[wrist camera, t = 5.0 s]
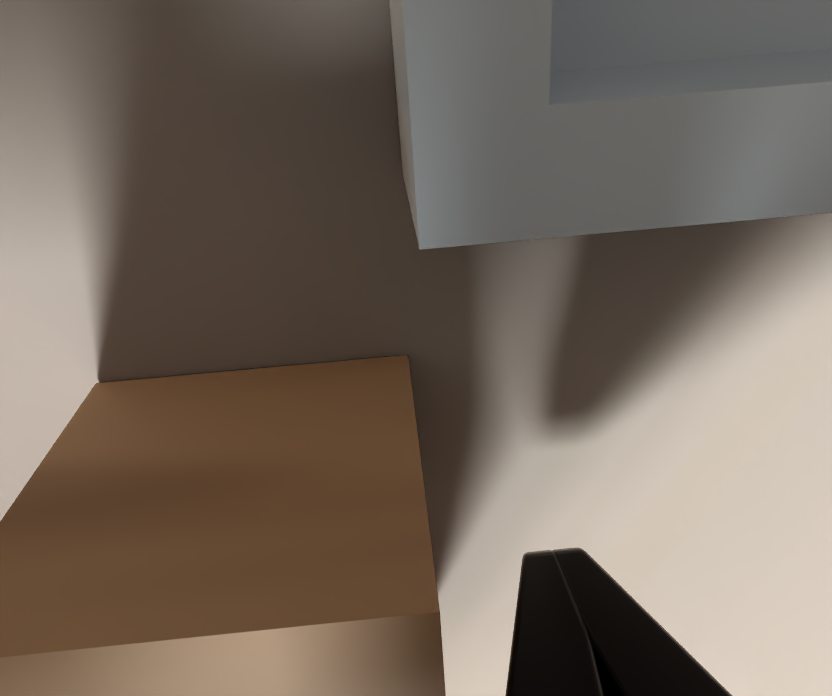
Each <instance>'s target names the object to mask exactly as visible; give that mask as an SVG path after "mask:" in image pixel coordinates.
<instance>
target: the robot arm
mask: <svg viewBox="0 0 832 696" xmlns="http://www.w3.org/2000/svg"><path fill="white" fill-rule="evenodd" d="M506 696H732V695H731V694H730V693H729V692H728V691H727V690H726V689H725V688H724V687H723V686H722V685H721V684H720V683H719V682H718V681H717V680H716V679H715V678H714V677H713V676H712V675H711V674H710V673H709V672H708V671H706V670H705V669H704V668H703V667H702V666H701V665H700V664H699V663H698V662H697V661H696V660H695V659H694V658H693V657H692V656H691V655H690V654H689V653H688V652H687V651H686V650H685V649H684V648H683V647H682V646H681V645H680V644H679V643H678V642H677V641H676V640H675V639H674V638H673V637H672V636H671V635H670V634H669V633H668V632H667V631H666V630H665V629H664V628H663V627H662V626H661V625H660V624H659V623H658V622H657V621H656V620H655V619H654V618H653V617H652V616H651V615H650V614H649V613H647V612H646V611H645V610H644V609H643V608H642V607H641V606H640V605H639V604H638V603H637V602H636V601H635V600H634V599H633V598H632V597H631V596H630V595H629V594H628V593H627V592H626V591H625V590H624V589H623V588H622V587H621V586H620V585H619V584H618V583H617V582H616V581H615V580H614V579H613V578H612V577H611V576H610V575H609V574H608V573H607V572H606V571H605V570H604V569H603V568H602V567H601V566H600V565H599V564H598V563H597V562H596V561H595V560H594V559H593V558H592V557H591V556H590V555H588V554H587V553H586V552H585V551H584V550H583V549H580V548H567V549H557V550H553V551H551V550H547V551H536V552H527V553H525V554H524V556H523V559H522V567H521V575H520V583H519V591H518V599H517V607H516V615H515V623H514V631H513V640H512V648H511V656H510V664H509V672H508V680H507V688H506Z"/></svg>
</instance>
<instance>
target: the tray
mask: <svg viewBox="0 0 832 696" xmlns="http://www.w3.org/2000/svg"><path fill="white" fill-rule="evenodd" d="M389 4H390V17H391V29H392V42H393V55H394V68H395V81H396V94H397V107H398V119H399V132H400V145H401V158H402V171H403V177H404V182H405V186H406V191H407V195H408V200H409V205H410V209H411V214H412V218H413V223H414V227H415V232H416V236H417V241H418V246H419V250H421V249H433V248H444V247H455V246H466V245H477V244H488V243H500V242H511V241H522V240H533V239H544V238H555V237H567V236H578V235H589V234H600V233H611V232H622V231H634V230H645V229H656V228H667V227H678V226H689V225H701V224H712V223H723V222H734V221H745V220H756V219H768V218H779V217H790V216H801V215H812V214H823V213H832V0H389Z"/></svg>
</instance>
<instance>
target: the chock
mask: <svg viewBox="0 0 832 696" xmlns="http://www.w3.org/2000/svg"><path fill="white" fill-rule="evenodd" d="M0 696H445V681H444V667H443V652H442V637H441V622H440V610H439V602H438V593H437V585H436V577H435V569H434V561H433V553H432V545H431V537H430V529H429V521H428V513H427V505H426V497H425V489H424V481H423V473H422V465H421V456H420V448H419V440H418V432H417V424H416V416H415V408H414V400H413V392H412V384H411V376H410V368H409V360H408V355H402V356H391V357H380V358H369V359H358V360H347V361H336V362H325V363H314V364H303V365H292V366H281V367H270V368H259V369H248V370H237V371H226V372H215V373H204V374H193V375H182V376H171V377H160V378H149V379H138V380H127V381H116V382H105V383H96V384H95V385H94V387H93V388H92V390H91V391H90V393H89V394H88V396H87V397H86V399H85V400H84V401H83V403H82V404H81V406H80V407H79V409H78V410H77V412H76V413H75V414H74V416H73V417H72V419H71V420H70V422H69V423H68V425H67V426H66V427H65V429H64V430H63V432H62V433H61V435H60V436H59V438H58V439H57V440H56V442H55V443H54V445H53V446H52V448H51V449H50V451H49V452H48V454H47V455H46V456H45V458H44V459H43V461H42V462H41V464H40V465H39V467H38V468H37V469H36V471H35V472H34V474H33V475H32V477H31V478H30V480H29V481H28V482H27V484H26V485H25V487H24V488H23V490H22V491H21V493H20V494H19V495H18V497H17V498H16V500H15V501H14V503H13V504H12V506H11V507H10V509H9V510H8V511H7V513H6V514H5V516H4V517H3V519H2V520H1V522H0Z"/></svg>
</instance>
